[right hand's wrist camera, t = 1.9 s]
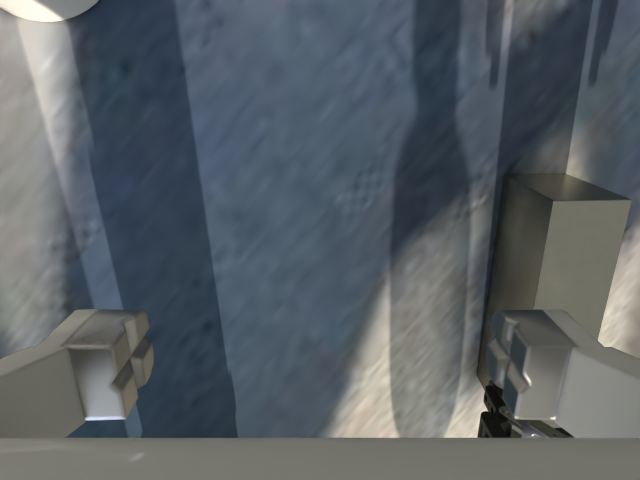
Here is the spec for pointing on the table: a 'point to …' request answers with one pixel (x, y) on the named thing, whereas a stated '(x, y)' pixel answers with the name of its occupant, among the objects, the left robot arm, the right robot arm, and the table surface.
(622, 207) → the box
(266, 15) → the table surface
